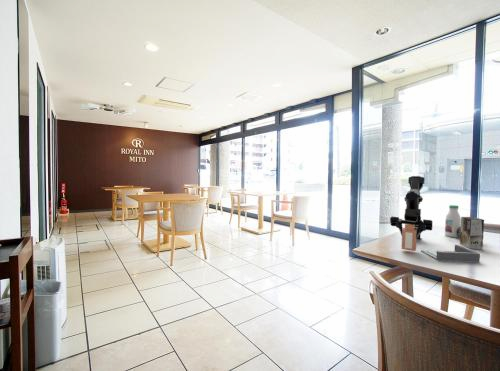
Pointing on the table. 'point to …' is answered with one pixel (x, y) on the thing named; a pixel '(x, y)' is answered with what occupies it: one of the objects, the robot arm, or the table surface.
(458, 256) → the tray
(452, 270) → the table surface
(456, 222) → the milk bottle
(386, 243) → the table surface
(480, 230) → the coffee box
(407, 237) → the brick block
